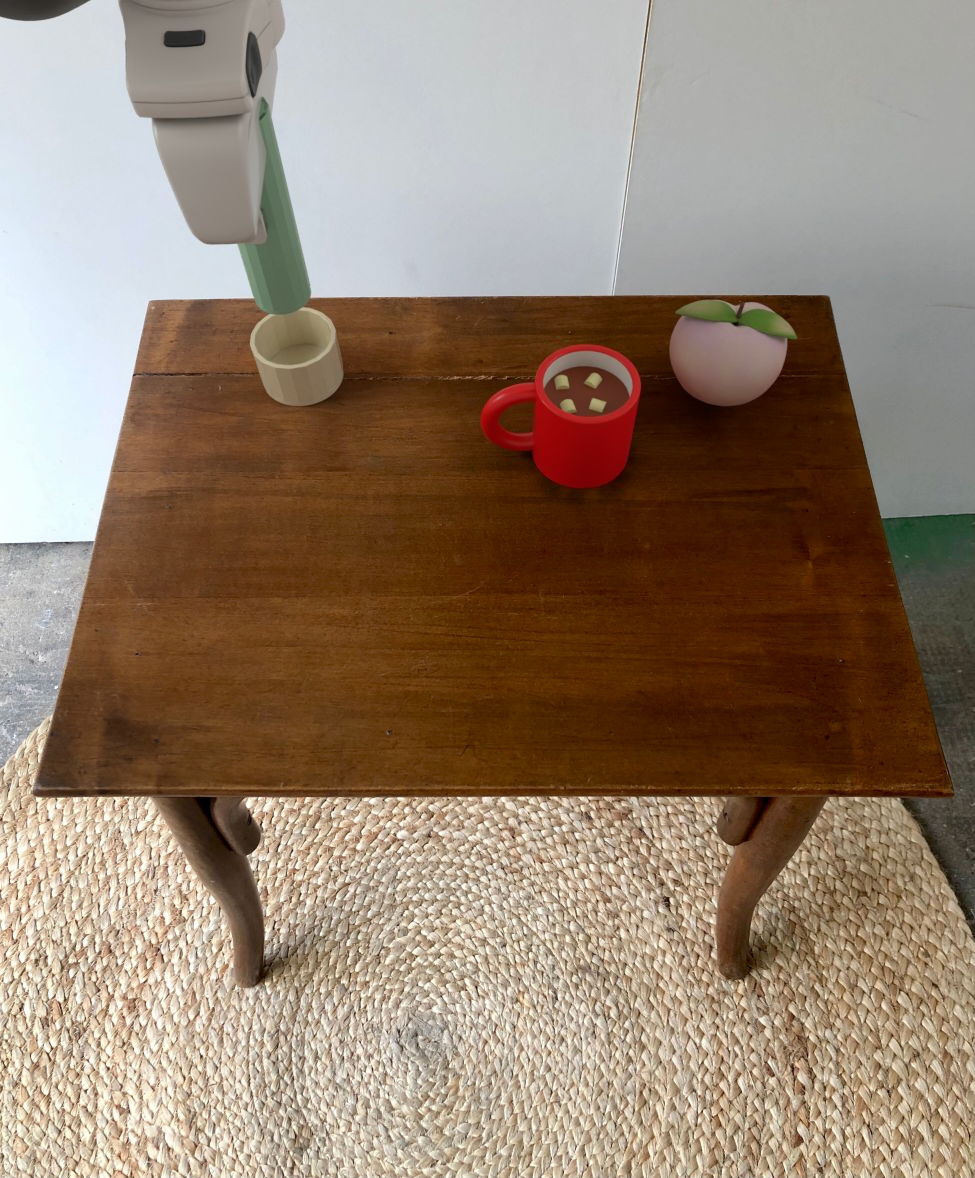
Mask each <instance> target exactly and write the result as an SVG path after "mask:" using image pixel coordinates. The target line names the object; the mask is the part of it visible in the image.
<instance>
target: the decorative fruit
mask: <svg viewBox="0 0 975 1178" xmlns="http://www.w3.org/2000/svg"><path fill="white" fill-rule="evenodd" d="M674 314H676V315H679V316H680V317H679V319H678V321H677V322H676V324H675V326H674V328H673V330H672V333H671V336H670V341H669V360H670V364H671V367H672V371H673V373H674V375H675V377H676V379H677V381H678V382H679V384H680V386H681V387H682V388H683V389H684V391H685V392H687V394H689V395H690V396H691V397H693V398H694V399H696V400H699V401H700V402H702V403H706V404H709V405H713V406H718V407H733V406H741V405H744V404H747V403H750V402H751V401H753V400H755V399H758V398H759V397H760V396H762V395H763V394H765V392H767V391H768V389H769V388H771V386H772V385H773V384H774V383H775V382H776V380H777V379H778V377H779V376H780V374H781V372H782V370H783V366H784V364H785V361H786V356H787V351H788V339H789V340H797V339H798V336H797V334H796V332H795V329H793V327H792V326H791V325H790V323H789V322H788V321H786V320H785V319H784V318H783V317H782V316H781V315H779V314H777V313H776V312H775V311H773V310H772V309H771V308H769V306H766V305H764V304H762V303H760V302H756V301H755V302H754V301H749V302H745V301H740V303H739V304H737V305H733V304H732V303H729V302H727V301H724V300H720V299H702V300H696V301H694V302H691V303H688V304H685V305H683V306H682V307H680V308H679V309H677V310H676V311H674Z"/></svg>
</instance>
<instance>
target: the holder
mask: <svg viewBox="0 0 975 1178" xmlns="http://www.w3.org/2000/svg"><path fill="white" fill-rule="evenodd" d="M249 346H250V347H249V348H250V349H251V353H252V356H253V359H254V363H255V365H256V368H257V371H258V374H259V377H260V380H261V382H262V386H263V388H264V390H265V392H266V393H267V395H268V396H269V397H270V398H271V399H273V400H274V401H275V402H278V403H280V404H283V405H284V406H285V405H287V406H291V407H307V406H312V405H315V404H318V403H321V402H323V401H325V400H327V399H328V398H330V397H331V396H332V395H334V394H335V393H336V391H337V390H338V389H339V388H340V386H341V384H342V382H343V379H344V374H345V373H344V372H345V371H344V362H343V358H342V353H341V348H340V344H339V339H338V334H337V329H336V327H335V325H334V322H333V320H332V319H331V318H329V317H328V316H327V315H326V314H325V313H323V312H322V311H319V310H316V309H315V308H312V307H305V306H304V307H302V308H301V309H299V310H298V311H296V312H293V313H290V314H285V315H274V314H269V313H268V314H267V315H266V316H264V317H263V318H262V319H261V320H259V321H258V322H257V323H256V324H255V326H254V328H253V329H252V332H251V333H250V339H249Z"/></svg>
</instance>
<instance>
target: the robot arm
mask: <svg viewBox="0 0 975 1178" xmlns="http://www.w3.org/2000/svg"><path fill="white" fill-rule="evenodd" d="M88 2H91V0H0V18H3V19H7V20H13V21H19V22H20V21H21V22H40V21H46V20H50V19H55V18H57V17H61V16H63V15H65V14H68V13H70V12H72V11H74V10H75V9H78V8H80V7H81V6H83V5H85V4H86V3H88ZM117 2H118V7H119V11H120V14H121V17H122V21H123V22H122V23H123V28H124V35H125V41H124V47H125V85H126V90H127V94H128V98H129V100H130V103H131V105H132V107H133V111H134V112H135V114H136V115H137V116H138V117H139V118H145V119H151V130H152V134H153V140H154V143H155V146H156V150H157V153H158V157H159V159H160V162H161V165H162V167H163V170H164V173H165V175H166V177H167V181H168V183H169V185H170V188H171V190H172V192H173V195H174V197H175V200H176V202H177V205H178V207H179V209H180V211H181V213H182V214H181V215H182V216H183V219H184V221H185V223H186V226H187V227H188V229H189V231H190V232H191V234H192V235H193V236H194V238H196V240H198V241H200V242H201V243H203V244H204V245H211V246H212V245H213V246H214V245H216V246H218V245H219V246H220V245H237V244H241V243H244V244H246V245H256V244H264V243H265V242H266V239H267V231H268V224H267V221H266V216H265V212H264V209H263V208H260V204H261V196H262V189H263V181H264V173H265V165H266V148H265V144H264V141H263V137H262V133H261V129H260V126H259V115H260V108H261V101H262V97H264V98H265V100H266V101H267V103H268V105H269V109H270V113H271V118H272V116H273V109H274V100H275V92H276V84H277V77H278V76H277V75H278V65H279V63H278V54H277V53H278V52H277V47H276V46H278V44H279V43H280V41H281V40H282V38H283V36H284V34H285V31H286V18H285V14H284V8H283V3H282V0H118V1H117Z"/></svg>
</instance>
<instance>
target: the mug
mask: <svg viewBox="0 0 975 1178" xmlns="http://www.w3.org/2000/svg"><path fill="white" fill-rule="evenodd" d="M641 390H642V382H641V376H640V374H639V372H638V370H637V368H636V366H634V363H633V362H631V361H630V360H629V359H628V357H626V356H624V354H621V353H620V352H618V351H616V350H614V349H612V348H610V347H606V346H603V345H597V344H589V343H588V344H587V343H586V344H584V343H583V344H581V343H579V344H575V345H569V346H567V347H563V348H559V349H558V350H556V351H554V352H552V353H551V354H550V355H548V356H547V357H546V358H545V359H543V361H542V363H540V365H539V367H538V368H537V371H536V373H535V377H534V382H521V383H518V384H512V385H510V386H508V387H505V388H502V389H501V390H499V391H497V392H496V393H495V394H493V395H492V396H491V397H489V399H488V400H487V401H486V403H484V406H483V407H482V409H481V413H480V417H479V418H480V419H479V423H480V428H481V431H482V432H483V434H484V436H485V438H486V439H487V440H488V441H489V442H490V443H492V444H493V445H495V446H497V447H499V448H502V449H505V450H508V451H514V452H531V455H532V459H533V462H534V464H535V465H536V467H537V469H538V470H539V471H540V472H541V474H543V475H544V476H545V478H548V479H549V480H550V481H552V482H553V483H556V484H558V485H560V486H563V487H566V488H572V489H592V488H597V487H598V488H599V487H601V486H604V485H606V484H608V483H610V482H612V481H614V480H615V479H616V478H617V477H618V476H619V475H621V473H622V471H623V470H624V469H625V467H626V466H627V463H628V461H629V454H630V450H631V444H632V439H633V433H634V428H635V424H636V419H637V414H638V408H639V402H640V396H641ZM522 403H523V404H524V403H533V409H532V410H533V413H532V414H533V415H532V431H529V432H514V431H513V432H512V431H509V430H508V429H506V428H504V427H502V426H501V424H500V421H499V420H500V417H501V416H502V414H503V413H504V412H505V411H506V410H507V409H509V408H511V407H513V406H515V405H518V404H522Z"/></svg>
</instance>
